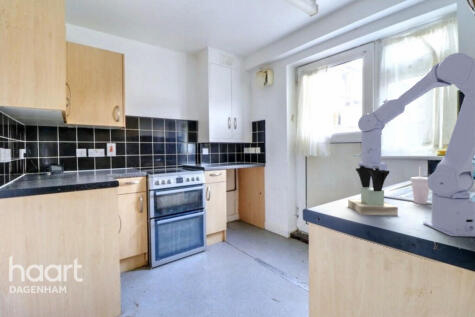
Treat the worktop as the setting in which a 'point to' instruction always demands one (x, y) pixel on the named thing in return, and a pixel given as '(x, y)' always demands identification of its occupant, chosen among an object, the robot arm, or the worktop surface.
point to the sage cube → (372, 196)
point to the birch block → (373, 208)
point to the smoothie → (420, 188)
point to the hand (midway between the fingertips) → (371, 189)
